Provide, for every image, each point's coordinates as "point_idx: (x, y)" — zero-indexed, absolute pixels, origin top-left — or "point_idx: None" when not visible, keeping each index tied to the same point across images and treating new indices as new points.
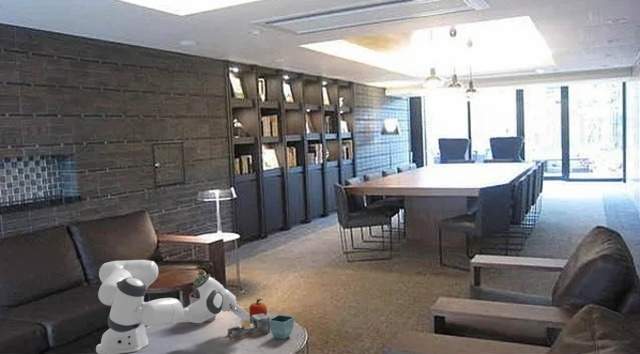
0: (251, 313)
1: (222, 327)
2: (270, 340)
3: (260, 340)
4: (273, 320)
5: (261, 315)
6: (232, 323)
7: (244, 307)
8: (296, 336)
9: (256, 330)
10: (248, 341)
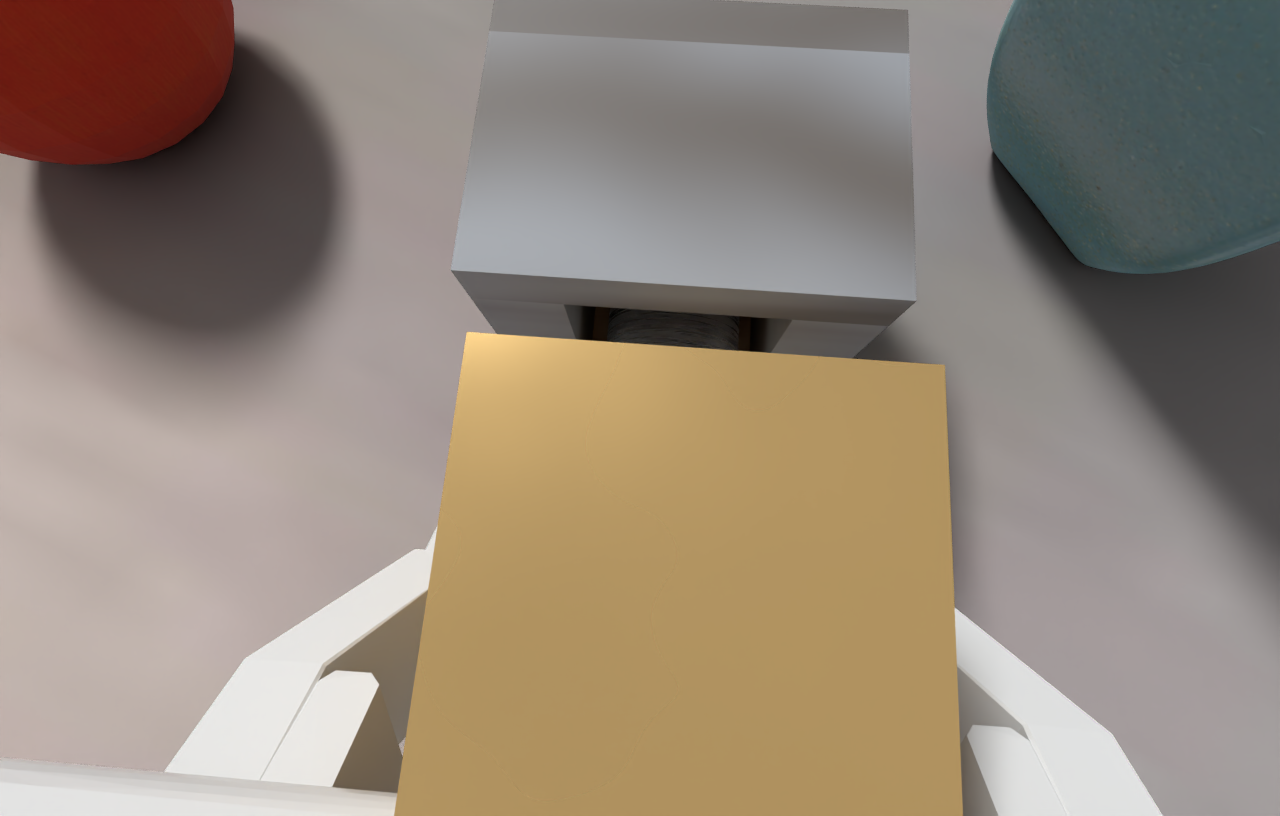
0: (44, 120)
1: (44, 759)
2: (1144, 366)
3: (1068, 494)
4: (1266, 41)
5: (630, 84)
6: (9, 504)
7: (695, 689)
8: None
9: None
10: None
